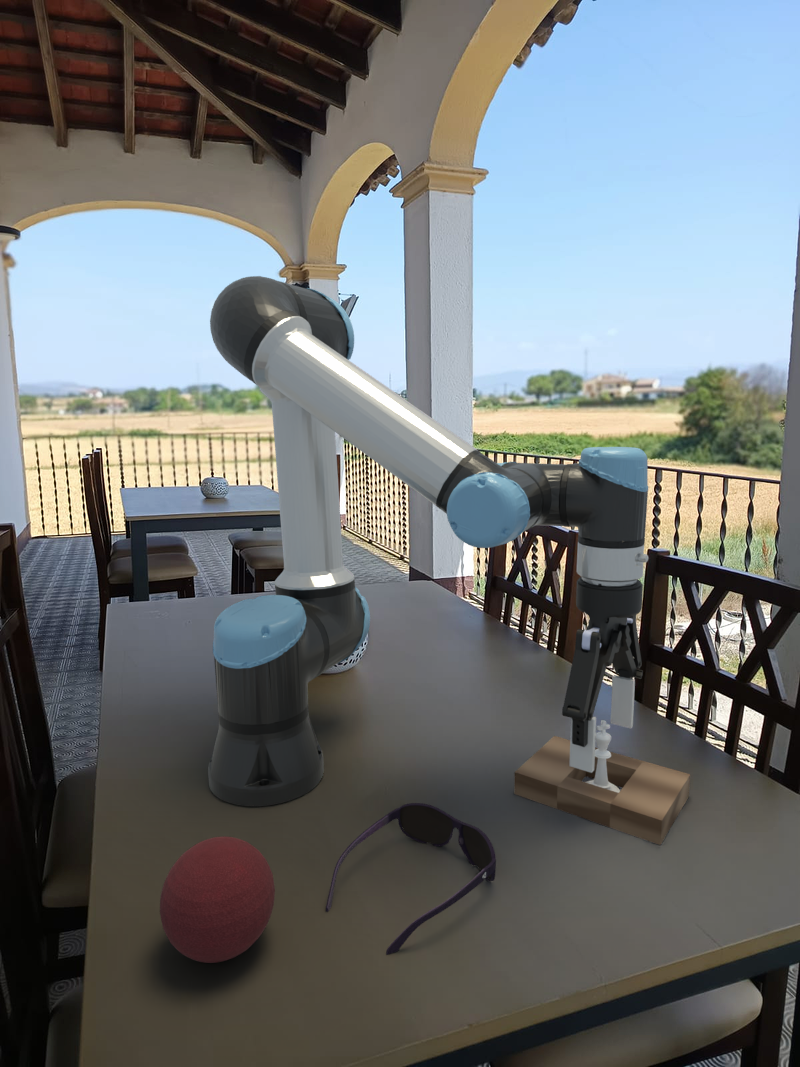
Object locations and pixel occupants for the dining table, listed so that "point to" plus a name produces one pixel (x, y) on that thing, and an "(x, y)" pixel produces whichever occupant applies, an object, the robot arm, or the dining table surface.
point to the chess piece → (602, 758)
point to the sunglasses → (438, 830)
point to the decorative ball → (217, 899)
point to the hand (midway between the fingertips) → (602, 745)
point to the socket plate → (606, 790)
